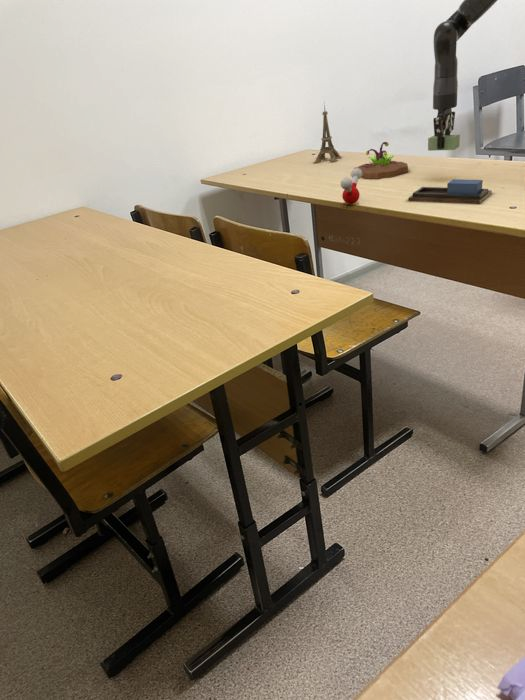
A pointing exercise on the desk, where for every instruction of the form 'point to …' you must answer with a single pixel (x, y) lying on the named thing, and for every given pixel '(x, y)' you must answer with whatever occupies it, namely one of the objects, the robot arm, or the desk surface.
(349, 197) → the molecular model
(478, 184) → the blue rectangular block
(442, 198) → the dark wooden tray
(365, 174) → the plant
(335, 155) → the eiffel tower
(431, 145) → the green rectangular block
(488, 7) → the robot arm
